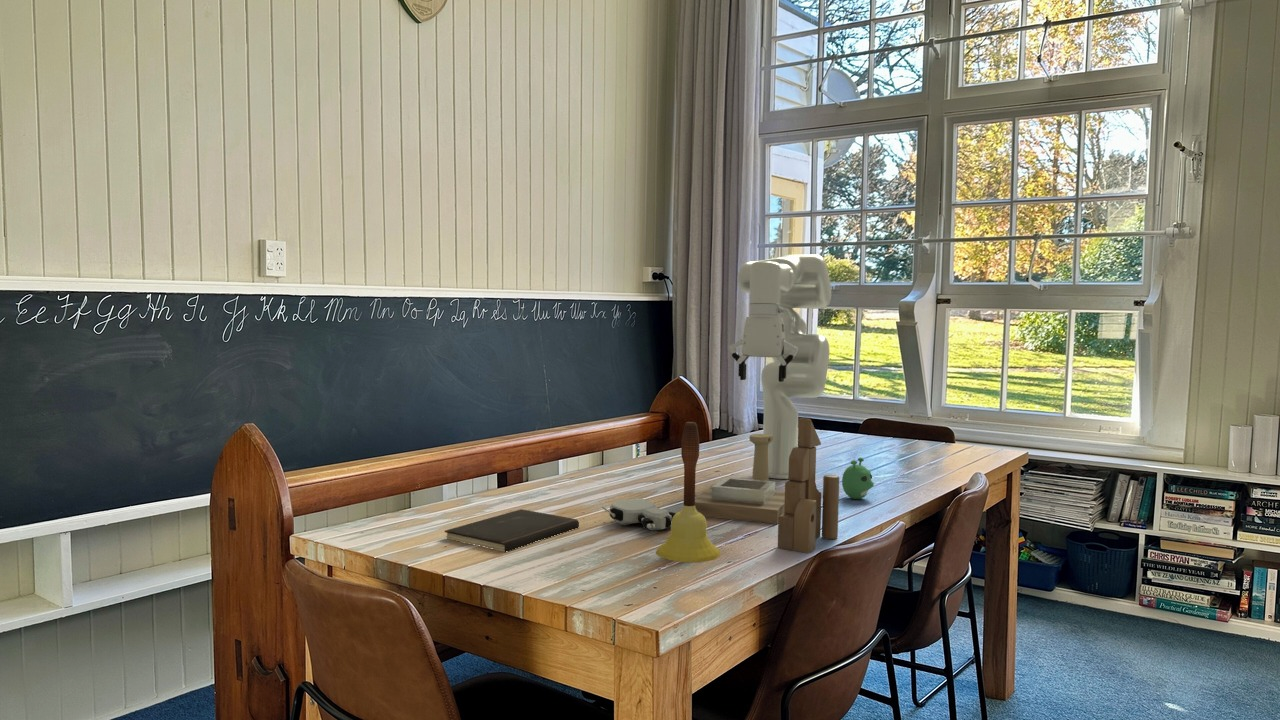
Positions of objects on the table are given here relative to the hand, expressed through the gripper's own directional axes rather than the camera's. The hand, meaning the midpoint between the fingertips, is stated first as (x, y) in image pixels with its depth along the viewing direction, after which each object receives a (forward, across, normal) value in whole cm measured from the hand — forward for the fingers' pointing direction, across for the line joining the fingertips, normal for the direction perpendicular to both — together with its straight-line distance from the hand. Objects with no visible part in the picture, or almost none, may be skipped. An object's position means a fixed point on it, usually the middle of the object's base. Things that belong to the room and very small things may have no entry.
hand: (761, 380), depth 219 cm
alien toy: (+29, -23, -6) cm, 38 cm away
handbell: (+31, 0, +56) cm, 64 cm away
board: (+29, 0, +17) cm, 34 cm away
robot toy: (+31, +15, +40) cm, 52 cm away
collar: (+26, 0, +17) cm, 31 cm away
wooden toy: (+30, -20, +39) cm, 53 cm away
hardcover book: (+32, +37, +57) cm, 75 cm away
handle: (+29, 0, 0) cm, 29 cm away
